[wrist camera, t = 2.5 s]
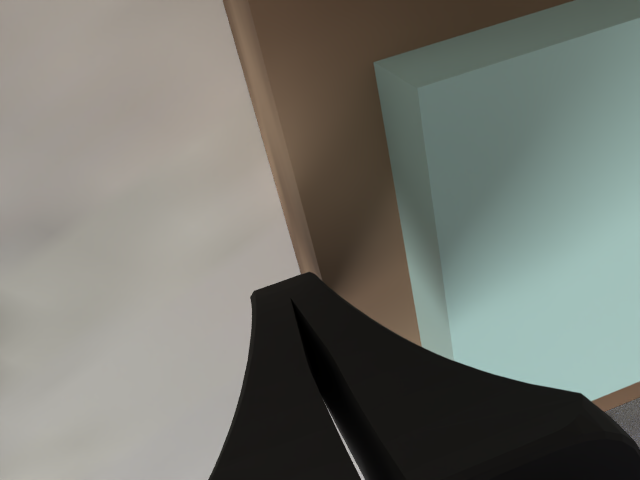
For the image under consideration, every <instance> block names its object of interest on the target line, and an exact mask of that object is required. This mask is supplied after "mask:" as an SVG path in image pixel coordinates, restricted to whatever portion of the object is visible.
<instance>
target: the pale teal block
mask: <svg viewBox="0 0 640 480" xmlns="http://www.w3.org/2000/svg"><path fill="white" fill-rule="evenodd" d="M373 63H374V69H375V75H376V81H377V87H378V93H379V98H380V104H381V110H382V116H383V122H384V128H385V134H386V139H387V145H388V151H389V157H390V163H391V169H392V175H393V181H394V186H395V192H396V198H397V204H398V210H399V216H400V222H401V228H402V233H403V239H404V245H405V251H406V257H407V263H408V269H409V275H410V280H411V286H412V292H413V298H414V304H415V310H416V316H417V322H418V327H419V333H420V339H421V345H422V347H423V348H425V349H427V350H429V351H432V352H434V353H436V354H438V355H441V356H443V357H445V358H448V359H450V360H453V361H456V362H459V363H462V364H464V365H467V366H470V367H473V368H476V369H479V370H482V371H485V372H488V373H491V374H495V375H498V376H502V377H506V378H510V379H514V380H517V381H521V382H525V383H530V384H535V385H540V386H546V387H551V388H556V389H562V390H567V391H572V392H578V393H582V394H583V395H584V396H585V397H587V398H588V399H589V400H590V401H593V400H595V399H598V398H600V397H603V396H605V395H608V394H610V393H612V392H615V391H617V390H620V389H622V388H625V387H627V386H630V385H632V384H634V383H637V382H639V381H640V0H574V1H571V2H568V3H564V4H561V5H558V6H555V7H551V8H548V9H545V10H542V11H538V12H535V13H532V14H529V15H525V16H522V17H519V18H516V19H512V20H509V21H506V22H503V23H499V24H496V25H493V26H490V27H486V28H483V29H480V30H477V31H473V32H470V33H467V34H464V35H460V36H457V37H454V38H451V39H447V40H444V41H441V42H437V43H434V44H431V45H428V46H424V47H421V48H418V49H415V50H411V51H408V52H405V53H402V54H398V55H395V56H392V57H389V58H385V59H382V60H379V61H376V62H373Z"/></svg>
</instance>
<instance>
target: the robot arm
mask: <svg viewBox="0 0 640 480" xmlns="http://www.w3.org/2000/svg"><path fill="white" fill-rule="evenodd" d="M250 298H251V303H252V329H251V339H250V347H249V355H248V361H247V366H246V371H245V376H244V380H243V385H242V389H241V393H240V397H239V401H238V404H237V408H236V411H235V414H234V417H233V420H232V424H231V427H230V429H229V432H228V435H227V437H226V440H225V442H224V445H223V448H222V450H221V453H220V455H219V458H218V460H217V462H216V465H215V467H214V469H213V471H212V473H211V475H210V477H209V479H208V480H361V478H360V476H359V474H358V472H357V470H356V468H355V466H354V464H353V462H352V460H351V458H350V456H349V454H348V452H347V450H346V448H345V446H344V444H343V442H342V440H341V437H340V435H339V433H338V431H337V429H336V427H335V425H334V423H333V420H332V418H333V419H334V421H335V423H336V425H337V427H338V429H339V431H340V433H341V435H342V436H343V438H344V440H345V442H346V444H347V446H348V448H349V450H350V452H351V454H352V455H353V457H354V459H355V461H356V463H357V465H358V467H359V469H360V471H361V472H362V474H363V476H364V478H365V480H640V449H639V447H638V446H637V444H636V442H635V441H634V440H633V439H632V438H631V437H630V436H629V435H628V434H627V433H626V432H625V431H624V430H623V429H622V428H621V427H620V426H619V425H618V424H617V423H616V422H615V421H614V420H613V419H612V418H611V417H609V416H608V415H607V414H606V413H605V412H604V411H603V410H601V409H600V408H599V407H598V406H596V405H595V404H594V403H593V402H591V401H590V400H589V399H588V398H587V397H585V396H584V395H583V394H582V393H578V392H572V391H567V390H562V389H556V388H551V387H546V386H540V385H535V384H530V383H525V382H521V381H517V380H514V379H510V378H506V377H502V376H498V375H495V374H491V373H488V372H485V371H482V370H479V369H476V368H473V367H470V366H467V365H464V364H462V363H459V362H456V361H453V360H450V359H448V358H445V357H443V356H441V355H438V354H436V353H434V352H432V351H429V350H427V349H425V348H423V347H421V346H419V345H417V344H415V343H413V342H411V341H409V340H407V339H405V338H403V337H402V336H400V335H398V334H396V333H394V332H393V331H391V330H389V329H388V328H386V327H384V326H383V325H381V324H379V323H378V322H376V321H375V320H373V319H372V318H370V317H369V316H367V315H366V314H364V313H363V312H361V311H360V310H358V309H357V308H356V307H354V306H353V305H351V304H350V303H349V302H347V301H346V300H345V299H343V298H342V297H341V296H340V295H338V294H337V293H336V292H334V291H333V290H332V289H331V288H330V287H328V286H327V285H326V284H325V283H324V282H323V281H322V280H321V279H320V278H319V277H318V276H317V275H316V274H314V273H311V272H307V273H304V274H301V275H298V276H295V277H292V278H290V279H287V280H284V281H281V282H278V283H276V284H273V285H270V286H267V287H264V288H261V289H259V290H256V291H254V292H253V294H252V295H251V297H250ZM322 398H323V399H322ZM323 400H324V401H323ZM324 402H325V403H324ZM325 404H326V405H325ZM326 406H327V407H326ZM327 408H328V409H327ZM328 410H329V412H330V414H331V416H332V418H331V416H330V414H329V412H328Z"/></svg>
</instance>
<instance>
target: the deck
mask: <svg viewBox="0 0 640 480" xmlns="http://www.w3.org/2000/svg"><path fill="white" fill-rule="evenodd" d="M571 1H574V0H223V3H224V6H225V10H226V13H227V17H228V20H229V24H230V27H231V31H232V34H233V38H234V41H235V45H236V48H237V52H238V55H239V59H240V62H241V66H242V69H243V73H244V76H245V80H246V83H247V87H248V90H249V94H250V97H251V101H252V104H253V108H254V111H255V114H256V118H257V121H258V125H259V128H260V132H261V135H262V139H263V142H264V146H265V149H266V153H267V156H268V160H269V163H270V167H271V170H272V174H273V177H274V181H275V184H276V188H277V191H278V195H279V198H280V202H281V205H282V209H283V212H284V216H285V219H286V223H287V226H288V230H289V233H290V237H291V240H292V244H293V247H294V251H295V254H296V258H297V261H298V265H299V268H300V272H301V274H304V273H307V272H311V273H314V274H316V275H317V276H318V277H319V278H320V279H321V280H322V281H323V282H324V283H325V284H326V285H327V286H328V287H330V288H331V289H332V290H333V291H334V292H336V293H337V294H338V295H340V296H341V297H342V298H343V299H345V300H346V301H347V302H349V303H350V304H351V305H353V306H354V307H356V308H357V309H358V310H360V311H361V312H363V313H364V314H366V315H367V316H369V317H370V318H372V319H373V320H375V321H376V322H378V323H379V324H381V325H383V326H384V327H386V328H388V329H389V330H391V331H393V332H394V333H396V334H398V335H400V336H402V337H403V338H405V339H407V340H409V341H411V342H413V343H415V344H417V345H419V346H421V347H422V345H421V339H420V333H419V327H418V322H417V316H416V310H415V304H414V298H413V292H412V286H411V280H410V275H409V269H408V263H407V257H406V251H405V245H404V239H403V233H402V228H401V222H400V216H399V210H398V204H397V198H396V192H395V186H394V181H393V175H392V169H391V163H390V157H389V151H388V145H387V139H386V134H385V128H384V122H383V116H382V110H381V104H380V98H379V93H378V87H377V81H376V75H375V69H374V63H373V62H376V61H379V60H382V59H385V58H389V57H392V56H395V55H398V54H402V53H405V52H408V51H411V50H415V49H418V48H421V47H424V46H428V45H431V44H434V43H437V42H441V41H444V40H447V39H451V38H454V37H457V36H460V35H464V34H467V33H470V32H473V31H477V30H480V29H483V28H486V27H490V26H493V25H496V24H499V23H503V22H506V21H509V20H512V19H516V18H519V17H522V16H525V15H529V14H532V13H535V12H538V11H542V10H545V9H548V8H551V7H555V6H558V5H561V4H564V3H568V2H571ZM639 397H640V381H639V382H637V383H634V384H632V385H630V386H627V387H625V388H622V389H620V390H617V391H615V392H612V393H610V394H608V395H605V396H603V397H600V398H598V399H595V400H593V401H591V402H593V403H594V404H595V405H596V406H598V407H599V408H600V409H601V410H603V411H604V412H605V411H608V410H610V409H612V408H615V407H617V406H620V405H622V404H625V403H627V402H629V401H632V400H634V399H637V398H639Z"/></svg>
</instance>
